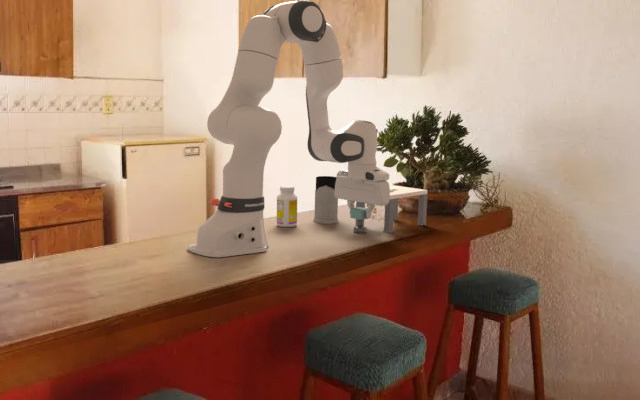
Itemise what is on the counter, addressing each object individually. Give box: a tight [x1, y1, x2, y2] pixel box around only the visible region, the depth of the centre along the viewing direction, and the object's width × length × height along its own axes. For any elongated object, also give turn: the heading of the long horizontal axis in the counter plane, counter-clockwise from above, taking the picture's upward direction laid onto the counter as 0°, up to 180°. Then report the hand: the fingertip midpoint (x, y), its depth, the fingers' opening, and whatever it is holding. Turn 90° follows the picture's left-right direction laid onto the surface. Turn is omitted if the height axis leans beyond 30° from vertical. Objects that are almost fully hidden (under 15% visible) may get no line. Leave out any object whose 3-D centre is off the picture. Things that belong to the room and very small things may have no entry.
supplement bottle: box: [276, 185, 298, 228], centre depth 215 cm, size 7×7×13 cm
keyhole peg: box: [349, 207, 370, 234], centre depth 208 cm, size 4×4×8 cm
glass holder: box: [312, 175, 339, 225], centre depth 227 cm, size 9×14×15 cm, turn 173°
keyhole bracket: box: [354, 184, 428, 234], centre depth 220 cm, size 20×14×12 cm
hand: (360, 216), depth 208 cm, fingers closed on keyhole peg, 4 cm apart
